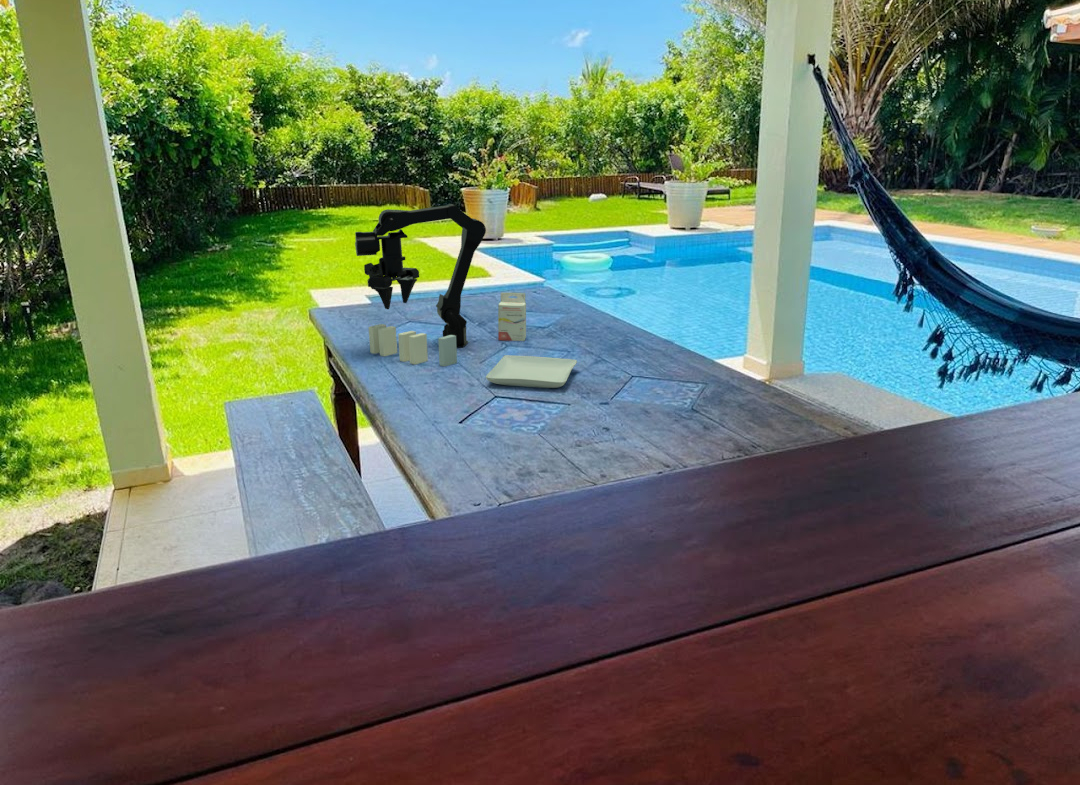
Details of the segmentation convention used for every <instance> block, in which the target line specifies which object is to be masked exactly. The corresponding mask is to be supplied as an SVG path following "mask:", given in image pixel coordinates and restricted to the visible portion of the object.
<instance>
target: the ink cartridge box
mask: <svg viewBox="0 0 1080 785" xmlns="http://www.w3.org/2000/svg"><path fill="white" fill-rule="evenodd" d="M512 297H515V298H512ZM497 307H498V308H497V313H498V314H497V315H498V317H497V322H498V324H497V326H498V327H497V329H498V331H497V332H498V333H497V334H498V336H497V337H498V341H508V342H513V341H514V342H525V341H526V337H527V303H526V293H525V292H501V293H500V301H499V303H498V306H497Z"/></svg>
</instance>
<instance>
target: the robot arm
mask: <svg viewBox="0 0 1080 785" xmlns="http://www.w3.org/2000/svg"><path fill="white" fill-rule="evenodd" d="M441 220H452V221H453V223H455V224H457V225H458V226H459V227H461V228H462V229H461V241H460V243H461V244H460V250H459V253H458V256H457V258H456V263H455V265H454V269H453V272H452V275H451V278H450V282H449V285H448V288H447V291H446V292H445V293H444V295H443V294H441V293H440V294H439V296H438V302H437V304H435V307H436V312H437V315H438V316H439V318H440V319H441V320H442V321H443V322H444V323H445V325H443V330H442V337H445V336H448V335H454V336H456V347H457V348H464V347H465V346H466V345H467V344H468V343H469V340H467V323H468V321H467V320H466V319H465V318H464V317H463V315H461V307H462V306H461V305H462V304H461V302H462V300H461V299H462V298H461V297H462V293H463V290H464V286H465V283H466V280H467V277H468V273H469V270H470V267H471V264H472V261H473V258H474V254H475V252H476V250H477V249H478V247H479V246H480V245H481V243H482V241H483V239H484V237H485V235H486V232H487V228H486V226H485V224H484V222H483V221H480V220H479V219H476V218H471V217H470V216H469V215H468V214H466V213H465V212H463V210H461V209H460V208H459V207H458V206H457V205H456V204H454V203H453V204H452V203H449V204H446V205H441V206H432V207H426V208H419V209H412V210H411V209H410V210H403V209H384V210H382V211H381V212H380V214H379V216H378V222H377V223H376V226H375V227H374V229H373V231H355V243H354V246H355V253H356V256H357V257H360V256H361V257H363V256H365V257H366V256H377V254H378V253H379V252H380V251H381V254H382V256H381V257H379V259H378V263H376V264H373V263H372V262H368V263H366V264H364V266H363V268H364V269H363V270H364V274H365V275H366V276H369V277H368V279H367V287H368V288H371V290H374V291H376V292H377V293H378V296H379V297H380V299H381V302H382V304H383V307H384V308H385V310H390V307H391V303H392V302H391V301H392V294H393V289H394V288H393V286H392V284H393V282H394V281H396V282H397V283H398V284H399V287H400V292H401V299H402V302H403V304H407V303H408V300H409V298H410V296H411V293H412V290H413V288H414V287H415V285H416V282H417V281H418V278H420V271H419V269H417V268H416V267H404V265H403V264H404V261H406V256H403V250H402V239H407V238H408V234H406V233H405V232H404V231H403V229H404V228H407V227H409V226H411V225H414V224H422V223H428V222H429V223H430V222H436V221H441ZM386 234H387V235H386ZM380 244H381V245H380Z"/></svg>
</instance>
